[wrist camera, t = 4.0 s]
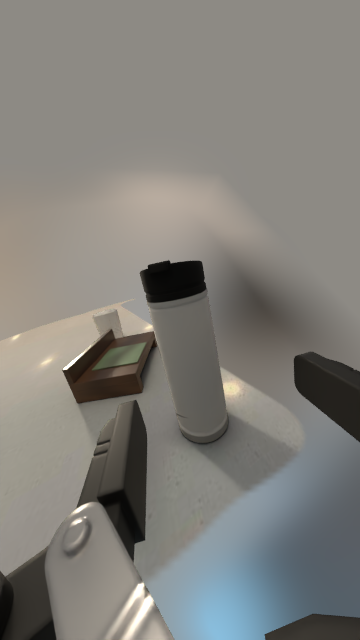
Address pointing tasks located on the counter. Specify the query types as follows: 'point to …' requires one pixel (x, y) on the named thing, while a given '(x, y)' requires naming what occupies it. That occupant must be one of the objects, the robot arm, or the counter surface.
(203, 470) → the counter surface
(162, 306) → the travel mug
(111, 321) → the white cup
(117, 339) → the wooden coaster base
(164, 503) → the counter surface
